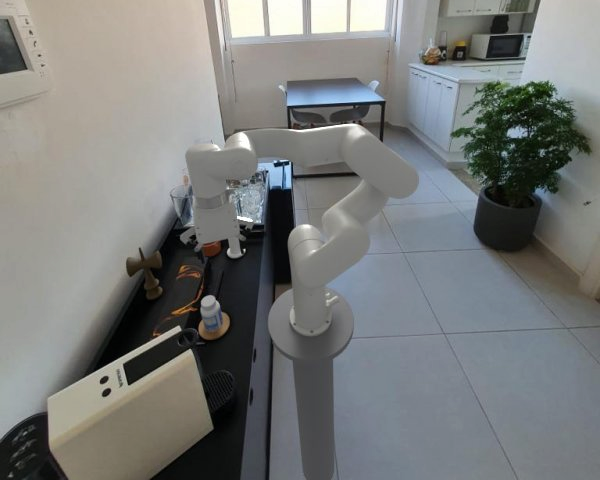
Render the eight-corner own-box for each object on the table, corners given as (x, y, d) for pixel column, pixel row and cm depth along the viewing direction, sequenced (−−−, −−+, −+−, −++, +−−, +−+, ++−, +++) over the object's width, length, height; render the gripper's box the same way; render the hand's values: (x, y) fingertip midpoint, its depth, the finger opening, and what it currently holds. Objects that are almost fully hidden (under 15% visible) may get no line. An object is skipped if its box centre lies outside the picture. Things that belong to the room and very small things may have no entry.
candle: (228, 247, 124) (218, 193, 114) (245, 245, 125) (237, 191, 114) (226, 259, 118) (215, 203, 107) (245, 257, 118) (236, 201, 108)
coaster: (223, 307, 97) (223, 306, 97) (234, 329, 90) (234, 327, 90) (195, 322, 93) (194, 320, 93) (203, 346, 86) (203, 344, 86)
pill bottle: (214, 313, 95) (208, 290, 91) (227, 321, 92) (222, 297, 88) (200, 327, 91) (194, 303, 87) (213, 336, 88) (208, 311, 84)
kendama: (140, 292, 105) (123, 245, 97) (170, 284, 108) (156, 237, 100) (138, 306, 100) (120, 257, 92) (169, 297, 102) (155, 249, 94)
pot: (217, 240, 129) (215, 230, 127) (223, 251, 122) (222, 241, 120) (196, 248, 125) (194, 238, 123) (202, 260, 118) (200, 249, 116)
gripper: (246, 182, 76) (254, 238, 83) (172, 196, 72) (187, 254, 79) (251, 197, 70) (259, 256, 77) (170, 213, 65) (186, 274, 72)
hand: (223, 255), depth 78 cm, fingers open, 9 cm apart
